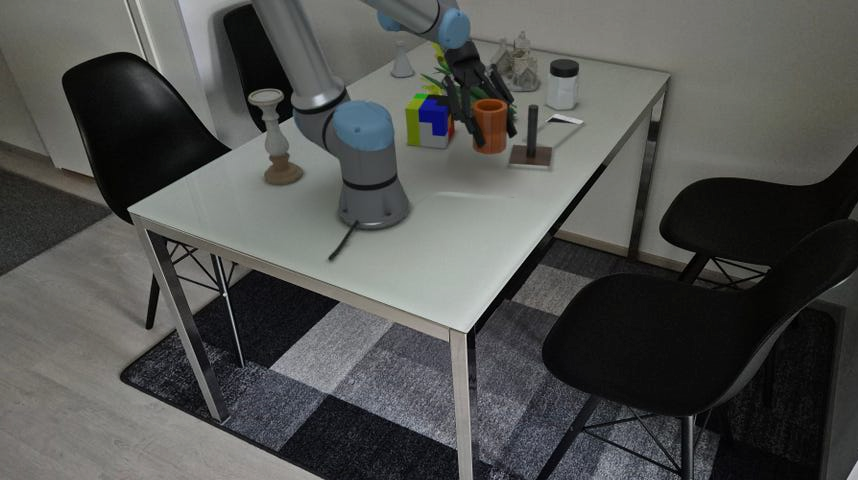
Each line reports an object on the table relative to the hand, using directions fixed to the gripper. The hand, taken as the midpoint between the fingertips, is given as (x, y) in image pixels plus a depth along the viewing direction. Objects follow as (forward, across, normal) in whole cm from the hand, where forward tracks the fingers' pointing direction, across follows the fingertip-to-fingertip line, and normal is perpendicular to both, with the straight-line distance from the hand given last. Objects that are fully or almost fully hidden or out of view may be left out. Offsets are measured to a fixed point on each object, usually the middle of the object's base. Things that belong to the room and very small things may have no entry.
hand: (498, 140), depth 141 cm
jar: (-11, -42, -28) cm, 51 cm away
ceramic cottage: (-27, -40, -43) cm, 65 cm away
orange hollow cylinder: (0, 0, -4) cm, 5 cm away
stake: (+4, -14, -12) cm, 19 cm away
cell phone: (-2, -28, -18) cm, 34 cm away
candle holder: (-14, +41, -30) cm, 53 cm away
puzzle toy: (-13, +1, -29) cm, 32 cm away
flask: (-45, -14, -61) cm, 77 cm away
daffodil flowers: (-19, -17, -36) cm, 44 cm away
